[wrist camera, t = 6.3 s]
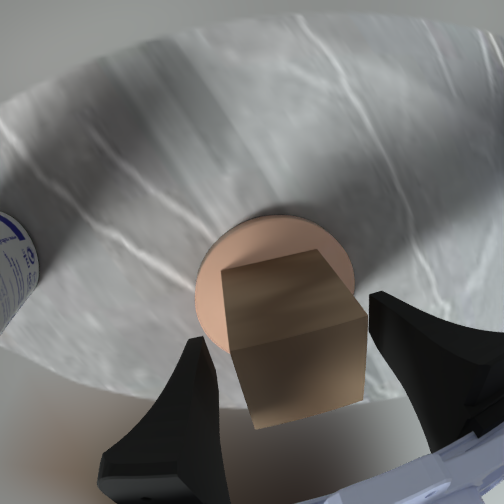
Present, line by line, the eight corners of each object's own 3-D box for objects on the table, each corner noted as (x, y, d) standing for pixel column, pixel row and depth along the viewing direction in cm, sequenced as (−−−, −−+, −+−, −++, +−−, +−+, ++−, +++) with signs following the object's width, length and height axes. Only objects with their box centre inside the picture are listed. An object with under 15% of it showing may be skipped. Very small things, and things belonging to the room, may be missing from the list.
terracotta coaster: (341, 199, 15) (349, 205, 14) (349, 329, 18) (355, 339, 17) (175, 236, 15) (173, 244, 14) (217, 362, 18) (218, 374, 17)
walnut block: (316, 248, 15) (367, 315, 10) (323, 324, 17) (362, 400, 12) (220, 270, 15) (229, 350, 10) (240, 345, 16) (255, 429, 11)
